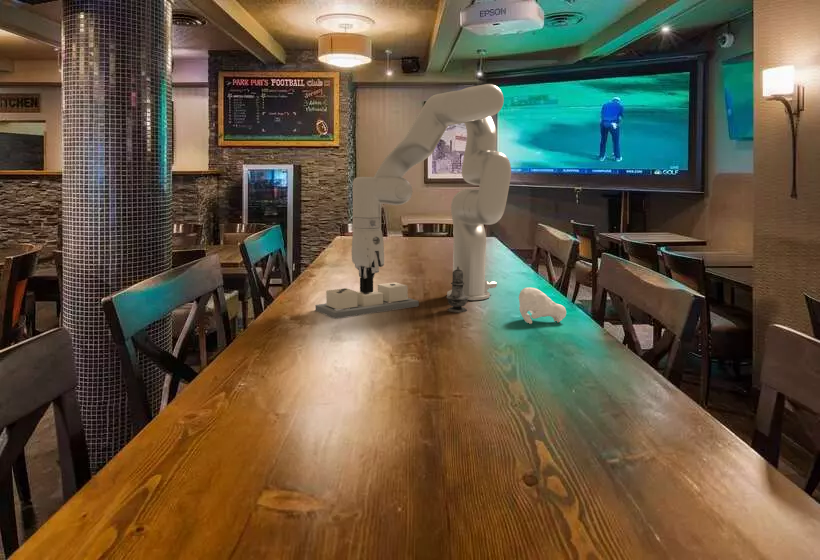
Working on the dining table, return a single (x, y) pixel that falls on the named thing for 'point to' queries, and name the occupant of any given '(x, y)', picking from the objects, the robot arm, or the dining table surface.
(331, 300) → the tile three
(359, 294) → the tile two
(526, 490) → the dining table surface
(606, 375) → the dining table surface
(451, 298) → the grey turned candlestick
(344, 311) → the board
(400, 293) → the tile one
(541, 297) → the cream animal figurine
